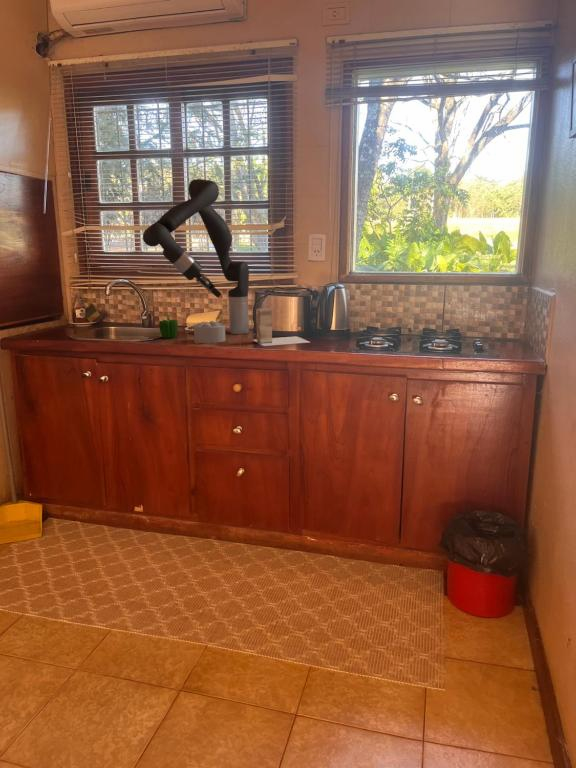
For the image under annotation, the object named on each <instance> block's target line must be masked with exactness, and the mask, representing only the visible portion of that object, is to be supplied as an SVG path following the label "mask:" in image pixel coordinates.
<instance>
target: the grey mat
mask: <svg viewBox="0 0 576 768" xmlns="http://www.w3.org/2000/svg"><path fill="white" fill-rule="evenodd" d="M252 341H254V342H256V343H257V344H259V345H260V346H263V347H268V346H280V345H281V346H283V345H295V344H306V343H308V344H309V343H310V341H308V340H306V339H305V338H302V337H300V336H295V335H294V336H286V337H285V336H284V337H272V343H263V344H261V343H259V342H257V338H256V339H252Z"/></svg>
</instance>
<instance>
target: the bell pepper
mask: <svg viewBox="0 0 576 768" xmlns="http://www.w3.org/2000/svg"><path fill="white" fill-rule="evenodd" d="M166 318H167V319H163V320H160V321H159V322H158V326H159V327H158V328H159V331H160V334H161V337H162V338H163V339H174V338H176V337H177V335H178V330H179V322H178V320H176V319H170V315H166Z"/></svg>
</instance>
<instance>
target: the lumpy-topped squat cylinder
mask: <svg viewBox="0 0 576 768" xmlns="http://www.w3.org/2000/svg"><path fill="white" fill-rule="evenodd" d="M193 336H194V337H193V338H194V343H195V344H198V343H206V344H205V345H214V344H215V345H216V343H222V342H225V341H226V325H224V324H222V323H221V322H219V321H214V320H211V321H201V322H198V323H197V324H196V325H193Z"/></svg>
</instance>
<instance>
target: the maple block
mask: <svg viewBox="0 0 576 768" xmlns="http://www.w3.org/2000/svg"><path fill="white" fill-rule="evenodd" d="M255 311H256V313H255V314H256V339H257V342H259V343H261V344H263V343H272V338H273V329H272V328H273V326H272V325H273V322H272V321H273V319H272V317H273V316H272V309H271V308H268V307H267V308H266V307H265V308H256V310H255ZM257 342H256V343H257ZM259 343H258V344H259ZM261 344H260V345H261Z"/></svg>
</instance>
